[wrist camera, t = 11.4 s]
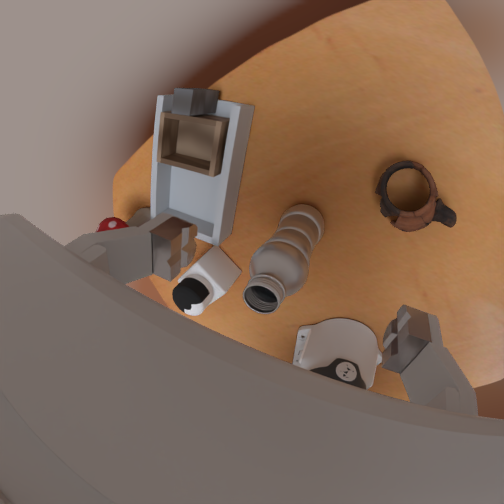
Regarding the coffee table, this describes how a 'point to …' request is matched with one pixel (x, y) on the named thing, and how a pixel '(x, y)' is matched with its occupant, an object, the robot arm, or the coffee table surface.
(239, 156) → the bay
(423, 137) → the coffee table surface
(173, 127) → the crate
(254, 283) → the plastic bottle
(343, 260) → the coffee table surface
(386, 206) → the broken clay pot
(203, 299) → the medicine bottle
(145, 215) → the decorative mushroom
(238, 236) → the coffee table surface
